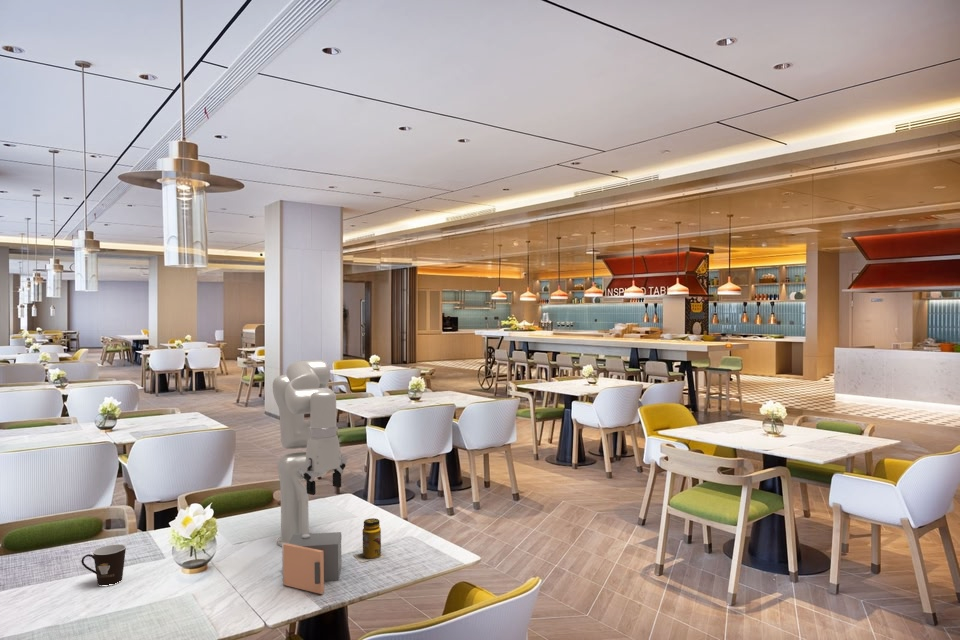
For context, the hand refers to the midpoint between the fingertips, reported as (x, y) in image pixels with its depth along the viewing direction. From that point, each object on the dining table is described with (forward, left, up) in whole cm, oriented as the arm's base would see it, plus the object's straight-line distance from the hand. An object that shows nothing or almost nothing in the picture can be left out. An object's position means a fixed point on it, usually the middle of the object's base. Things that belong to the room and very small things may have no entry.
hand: (324, 490), depth 184 cm
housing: (-9, -4, -28) cm, 30 cm away
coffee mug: (-15, -67, -29) cm, 74 cm away
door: (+2, -7, -28) cm, 29 cm away
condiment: (-22, +12, -29) cm, 38 cm away
